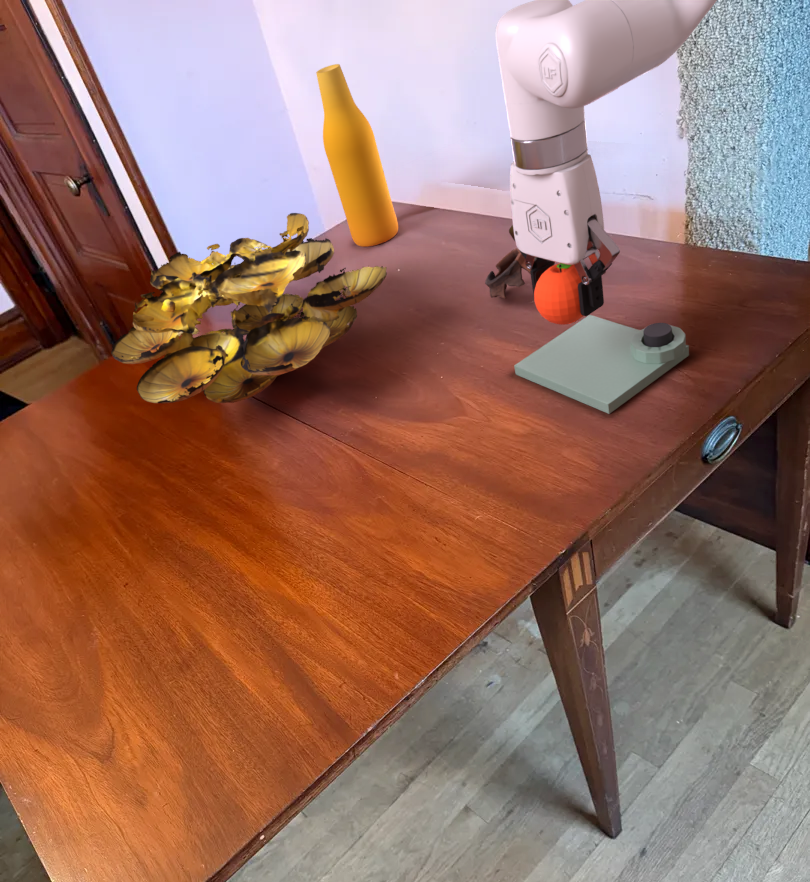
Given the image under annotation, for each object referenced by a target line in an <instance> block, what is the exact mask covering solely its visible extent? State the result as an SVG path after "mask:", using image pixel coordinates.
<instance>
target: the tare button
mask: <svg viewBox="0 0 810 882" xmlns="http://www.w3.org/2000/svg"><path fill="white" fill-rule="evenodd" d="M670 325H671V324H669V323H666V322H655V323H651V324H649V325H647V326H645V327H644V328H643V329H644V331H643V332H644V344H645V345H646V346H648V347H662V346H665V345H668V344H669V343H671V341H672V327H671V326H672V325H671V326H670Z"/></svg>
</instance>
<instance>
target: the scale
mask: <svg viewBox="0 0 810 882" xmlns="http://www.w3.org/2000/svg"><path fill="white" fill-rule="evenodd" d="M669 325H670V326H671V327H672V341H671V343H669V344H668V345H665V346H662V347H648V346H646V345H645V344H644V332H643V331H644V329H645V328H642V329H637V328H633V327H631V326H627V325H625V324H621V323H617V322H615V321H612V320H608V319H605V318H602V317H599V316H595V315H592V314H589V315H588V316H585V317H584V318H583V319H581V320H580V321H578V322H576V323H575V324H574V325H572V326H570V327H569V328H568V329H566V330H565V331H563V332H562V333H560V334H558V335H557V336H555V337H554V338H553V339H551V340H550V341H548V342H547V343H545V344H543V346H540V347H539V348H538V349H537V350H535V351H533V352H532V353H530V354H529V355H527V356H526V357H525V358H523V359H522V360H520V361H518V362H517V363H515V364H514V366H513V368H514V372H515V373H514V374H515V375H516V376H518V377H521V378H523V379H525V380H527V381H530V382H532V383H535V384H537V385H539V386H542V387H544V388H547V389H549V390H551V391H554V392H555V393H559V394H561V395H563V396H565V397H567V398H570V399H572V400H575V401H578V402H580V403H582V404H584V405H586V406H589V407H591V408H594V409H596V410H599V411H601V412H603V413H606V414H608V415H610V414H611V413H613V412H614V411H616V410H617V409H618V408H619V407H621V406H622V405H624V404H625V403H627V402H628V401H629V400H631V398H633V397H634V396H636V395H637V394H639V393H640V392H641V391H642V390H645V388H647V387H648V386H649V385H651V384H652V383H653V382H655V381H657V380H658V379H659V378H660V377H662V376H663V375H664V374H666V373H667V372H668V371H670V370H671V369H672V368H674V367H676V366H677V365H678V364H679V363H681V362H682V361H683V360H685V359H686V358H687V357H689V356H690V345H689V344H687V342H686V341H687V340H686V339H687V338H686V333H685V332H684V331H683V330H682V329H681V327H678V326H674V325H671V324H669Z"/></svg>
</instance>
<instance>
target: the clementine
mask: <svg viewBox="0 0 810 882" xmlns="http://www.w3.org/2000/svg"><path fill="white" fill-rule="evenodd" d="M581 282H582V281H581V279H580V277H579V275H578V272H577V270H576V268H575V266H574V265H567V264H562V263H558V262H557V263H555V264H554V265H553V266H551V267H550V268H548V269H547V270H546V271H545V272H544V273H543V274H542V275H541V277H540V278H539V280H538V281H537V283H536V287H535V291H534V294H533V299H534V305H535V307H536V310H537V312H538V313H539V314H540V316H541V317H542V318H543V319H545V320H546V321H548V322H549V323H551V324H555V325H559V326H566V325H570V324H573V323H577V321H579V320H580V319H582V318H583V317H584V316H583V315H581V312H580V303H579V294H578V284H579V283H581Z"/></svg>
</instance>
